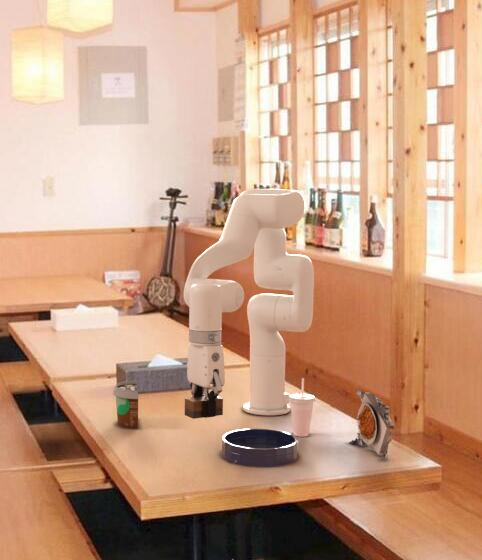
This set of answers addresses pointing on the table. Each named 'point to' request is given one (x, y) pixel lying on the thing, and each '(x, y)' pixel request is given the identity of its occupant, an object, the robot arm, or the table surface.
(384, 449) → the meal
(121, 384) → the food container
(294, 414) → the smoothie
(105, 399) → the table surface
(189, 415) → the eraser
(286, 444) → the bowl
